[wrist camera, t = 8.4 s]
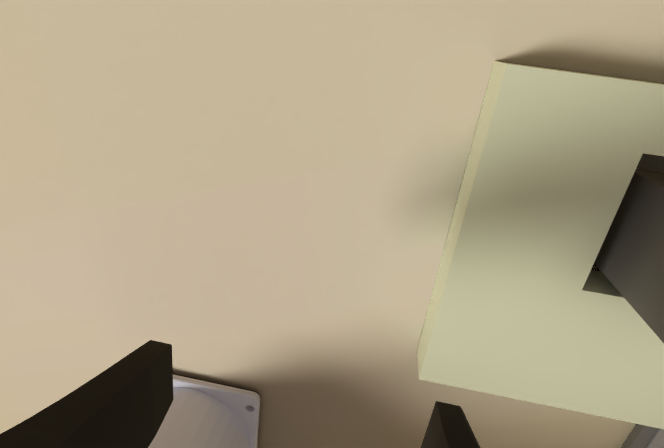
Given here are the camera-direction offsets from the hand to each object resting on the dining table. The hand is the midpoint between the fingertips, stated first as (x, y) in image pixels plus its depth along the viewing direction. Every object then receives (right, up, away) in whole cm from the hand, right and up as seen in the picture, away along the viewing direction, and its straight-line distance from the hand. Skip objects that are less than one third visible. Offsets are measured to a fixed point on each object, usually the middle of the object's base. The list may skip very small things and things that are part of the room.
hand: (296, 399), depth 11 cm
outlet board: (+13, +3, +7) cm, 15 cm away
